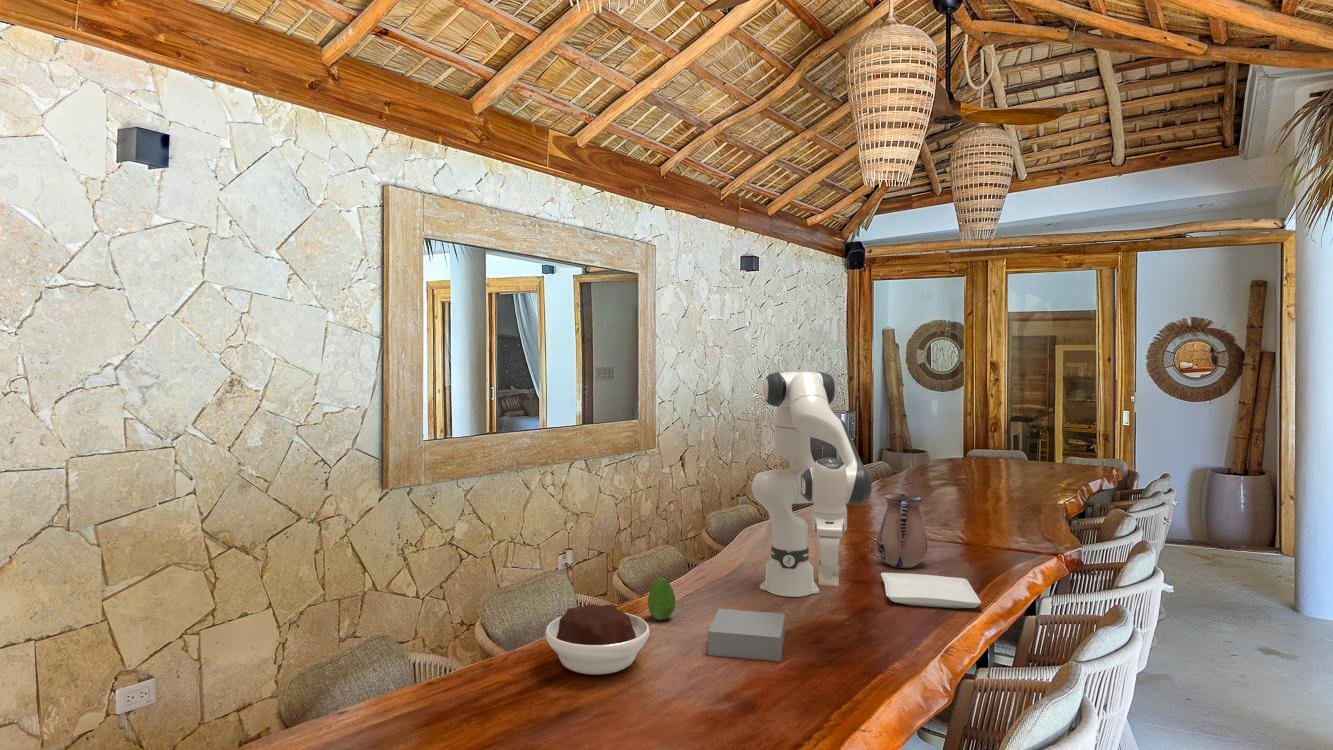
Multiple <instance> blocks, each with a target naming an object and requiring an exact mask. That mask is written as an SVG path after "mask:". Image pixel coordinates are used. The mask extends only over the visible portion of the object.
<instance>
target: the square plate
mask: <svg viewBox="0 0 1333 750" xmlns="http://www.w3.org/2000/svg"><path fill="white" fill-rule="evenodd" d="M880 576H881V579H882V581H883V584H884V591H885V596H886V597H887V598H888V599H889V600H890V601H891V602H894V603H898V604H902V605H908V606H916V607H918V606H920V607H931V608H932V607H934V608H947V609H974V608H977V607H979V605H981V604H982V601H981V599H980V598H979V596H978V594H977V593H976V591H975V589H973V587H972V585H971V584H970V582H969V581H968V579H966V578H964V577H951V576H941V575H934V574H933V575H931V574H918V573H904V572H903V573H902V572H901V573H898V572H896V573H895V572H880Z"/></svg>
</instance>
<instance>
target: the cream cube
mask: <svg viewBox="0 0 1333 750" xmlns="http://www.w3.org/2000/svg"><path fill="white" fill-rule="evenodd" d="M839 576H840V564H839V561H838V560H837V565H836V567H835V568H833V571H832V580H826V579H825V567H822V565H821V559H819V560H818V585H820V586H835V587H839V586H840V585H839V584H840V583H839V582H840V581H839V580H840V577H839Z"/></svg>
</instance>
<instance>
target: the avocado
mask: <svg viewBox="0 0 1333 750" xmlns="http://www.w3.org/2000/svg"><path fill="white" fill-rule="evenodd" d="M647 608H648V611H649V614H650V615H651V617H653V618H654V619H655V620H656V621H657V620H658V621H664V620H667V619H668V618H670V617H671V616H672V615H673V613H674V610H675V608H676V595H675V592H674V589H673V588H672V585H671V584H670V582H669V581H668V580H667V579H666V578H664V577H659V578H657V579H656V580H655V581H654V582H653V584H652V585H651V588H650V591H649V594H648V597H647Z"/></svg>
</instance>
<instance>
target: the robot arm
mask: <svg viewBox="0 0 1333 750" xmlns="http://www.w3.org/2000/svg"><path fill="white" fill-rule="evenodd" d="M836 390H837V389H836V382H835V380H834V377H833V376H832V375H831V374H829V373H826V372H821V371H820V372H814V371H787V372H778V371H777V372H773V373H772V372H771V373H769V374H768V375H767V376H765V379H764V382H763V385H762V394H763V398H764V400H765V402H766V404H768V405H769V406H772V407H776V411H775V420H774V449H775V452H776V453H777V454H778V455H779V456H780V457H782V458H784V459H786V460H788V461H789V465H790V468H788V469H769V470H765V471H761V472H758V473H757V474H756V475H755V476H754V477H753V479H752V482H751V492H752V495H753V497H754V498H755V500H756V501H757V502H758V503H759V504H761V505H762V506H763V507H764V508H765V510H766V511H767V513H768V515H769V518H770V520H771V527H772V545H771V547H770V557H771V558H770V560H769V561H768V562H767V563H766V564H765V565H766V566H765V580H764V581H763V582H761V584H759V589H760V590H763V591H766V592H768V593H771V594H773V595H776V596H780V597H781V596H782V597H790V598H792V597H793V598H797V597H806V596H808V595H809V596H810V595H813V594H819V593H820V589H819V587H818V585H817V583H816V582H815V580H814V579H815V577H814V566H812V563H811V562H810V561H809V558H810V549H809V547H808V540H809V539H808V538H809V533H808V531H809V526H808V523H807V521H806V520H805V519H804V518H803V517H802V516H800V515H799V514H796V513H794V511H793V505H794V504H795V505H796V504H798V505H799V504H813V505H812V509H811V529H812V530H814V532H815V535H816V536H817V538H818V545H819V556H820V560H821V565H822V567H825V579H826V580H832V571H833V568H835V567H836V565H837V561H838V559H839V552H840V544H841V543H840V542H841V538H842V537H843V535H844V533H845V532H846V531H847V530H848V529H847V528H848V508H847V505H853V506H855V505H856V506H861V505H862V504H863V503H865V502H866V501H867V500H868V499H869V497H871V496H872V495H871V494H872V481H871V477H870V474H869V473H868V471H867V469H866V467H865V466H864V464H863V463H862V459H861V457H860V455H859V453H858V450H857V447H856V445H855V443H854V440H853V438H852V436H851V433H850V430H849V429H848V427H847V425H846V423H845V421H844V420H842V419H841V418H839V417H837V415H836V414H835V413H834V412H833V410H832V409H831V407H830V404H831V403H832V402H834V399H835V395H836V392H837V391H836ZM811 438H814V439H816V440H820V441H823V442H826V443H827V444H829V445H831V446H832V447H834V448H835V449H836V450H837V452H838V455H839V458H840V459H837V458H834V457H823V458H819V459H817V460H814V458H813V455H812V451H811Z"/></svg>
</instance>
